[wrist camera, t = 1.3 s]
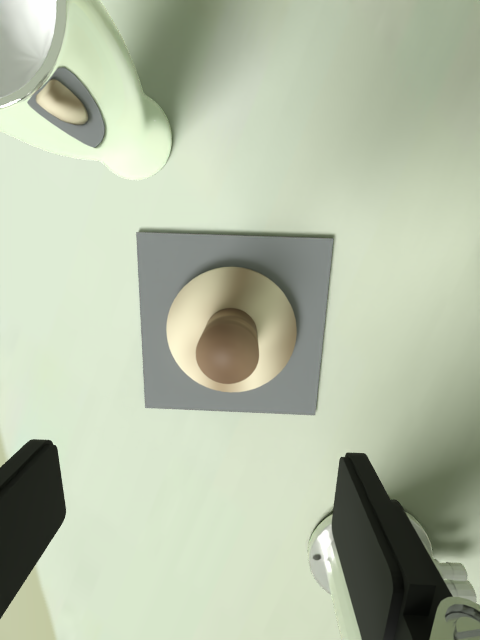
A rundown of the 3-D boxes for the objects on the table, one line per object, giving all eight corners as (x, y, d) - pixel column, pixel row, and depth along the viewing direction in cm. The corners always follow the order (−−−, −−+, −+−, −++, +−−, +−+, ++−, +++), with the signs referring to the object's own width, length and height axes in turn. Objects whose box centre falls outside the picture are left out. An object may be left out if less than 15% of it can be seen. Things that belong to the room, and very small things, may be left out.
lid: (299, 268, 26) (314, 277, 20) (290, 389, 29) (301, 427, 23) (167, 264, 26) (144, 272, 20) (171, 384, 29) (151, 421, 23)
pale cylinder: (142, 205, 26) (0, 163, 11) (71, 142, 25) (-188, 6, 10) (196, 133, 24) (116, -25, 10) (123, 63, 23) (-91, -232, 9)
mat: (332, 238, 26) (333, 238, 25) (314, 412, 30) (315, 415, 29) (137, 232, 26) (136, 232, 26) (146, 405, 30) (145, 407, 30)
